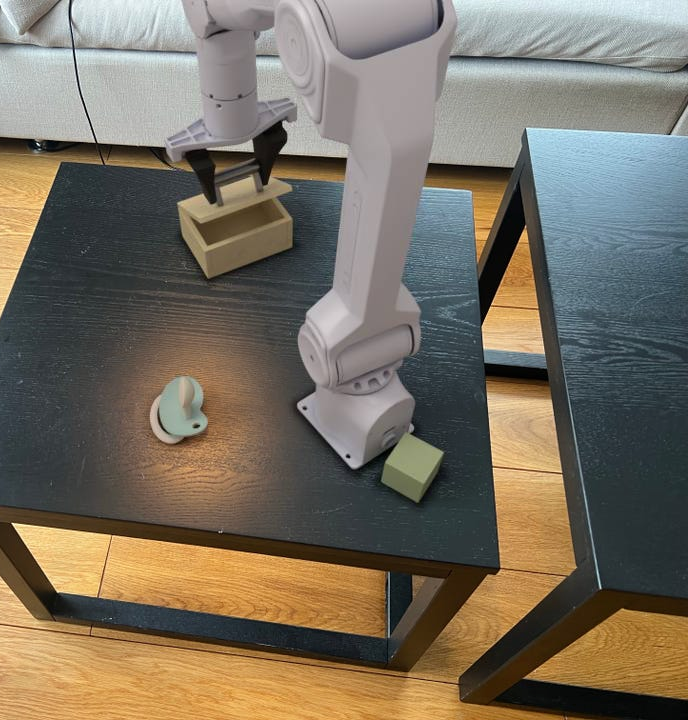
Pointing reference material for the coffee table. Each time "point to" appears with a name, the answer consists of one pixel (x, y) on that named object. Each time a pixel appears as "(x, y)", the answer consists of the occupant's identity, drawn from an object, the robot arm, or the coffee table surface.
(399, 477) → the block
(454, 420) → the coffee table surface
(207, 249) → the wooden box
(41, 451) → the coffee table surface
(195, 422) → the pacifier
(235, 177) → the lid
